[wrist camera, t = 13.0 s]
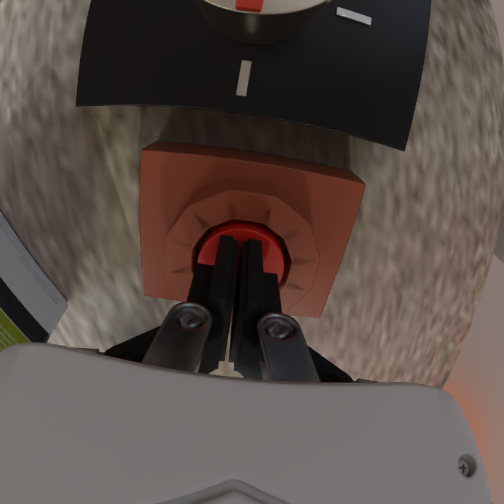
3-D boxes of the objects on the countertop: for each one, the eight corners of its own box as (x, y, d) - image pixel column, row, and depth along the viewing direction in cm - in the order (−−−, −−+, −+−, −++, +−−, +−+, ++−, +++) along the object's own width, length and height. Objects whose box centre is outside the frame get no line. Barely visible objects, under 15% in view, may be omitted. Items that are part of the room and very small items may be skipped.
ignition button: (288, 218, 13) (292, 236, 12) (272, 283, 15) (274, 306, 13) (206, 206, 13) (200, 223, 11) (200, 273, 15) (195, 296, 13)
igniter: (351, 170, 14) (381, 198, 11) (314, 294, 18) (325, 341, 15) (155, 140, 14) (124, 158, 10) (153, 273, 18) (133, 317, 14)
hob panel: (405, -22, 8) (434, -38, 6) (378, 139, 13) (406, 152, 11) (138, -60, 7) (117, -83, 5) (105, 101, 12) (73, 107, 10)
